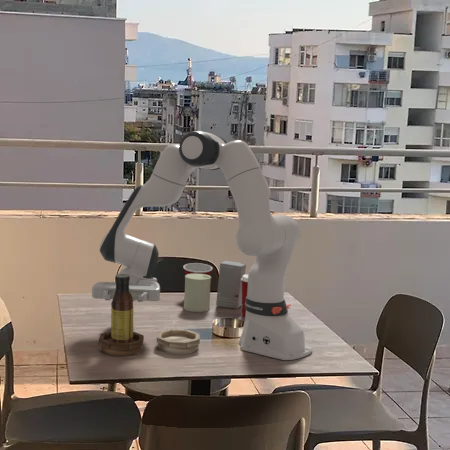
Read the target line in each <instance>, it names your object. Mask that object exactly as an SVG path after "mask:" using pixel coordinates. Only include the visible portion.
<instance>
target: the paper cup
mask: <svg viewBox="0 0 450 450" xmlns="http://www.w3.org/2000/svg"><path fill="white" fill-rule="evenodd" d="M248 274H249V273H245V275H243V276H242V279H241V280H242V306H241V315H242V317H243V318H245V314H246V310H245V300H246V297H247V289H248Z"/></svg>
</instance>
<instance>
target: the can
mask: <svg viewBox="0 0 450 450" xmlns="http://www.w3.org/2000/svg"><path fill="white" fill-rule="evenodd" d="M184 279H185V280H184V302H183V309H184V311H185V310H186V311H187V312H192V313H194V312H195V313H204V312H208V311H210V308H211V307H210V301H211V299H210V298H211V281H212V276H211V275H206V274H187V275H184Z"/></svg>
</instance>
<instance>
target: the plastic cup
mask: <svg viewBox="0 0 450 450" xmlns="http://www.w3.org/2000/svg"><path fill="white" fill-rule="evenodd" d="M183 269H184V273H185V275H187V274H206V275H209V276H211V272H212V271H213V266H211V265H209V264H206V263H201V262H200V263H199V262H194V263H193V262H192V263H191V262H190V263H186V264H184V265H183ZM185 275H184V276H185Z"/></svg>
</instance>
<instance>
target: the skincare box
mask: <svg viewBox="0 0 450 450" xmlns="http://www.w3.org/2000/svg"><path fill="white" fill-rule="evenodd" d="M246 268H247V263H243V262H237V261H231V260H230V261H229V260H224V261H221V262H220V265H219V273H218V274H219V275H218V282H217V292H216V304H215V306H216V307H217V308H218V307H219V308H227V309H235V310H238V309H239V308H241V307H242V280H241V279H242V276H243V275H245V274H246Z"/></svg>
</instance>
